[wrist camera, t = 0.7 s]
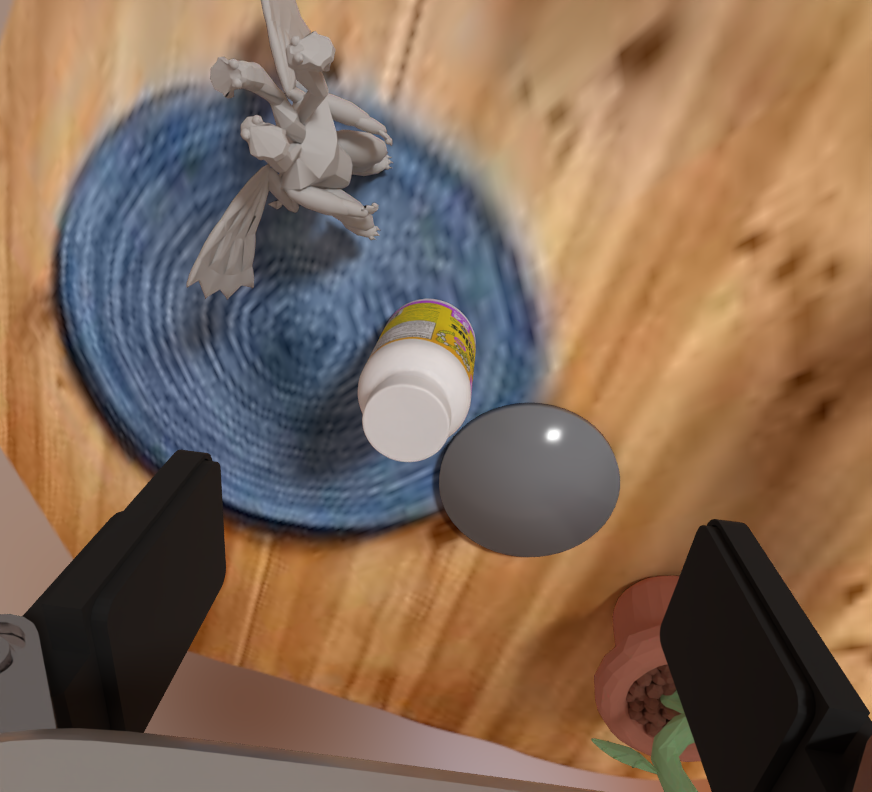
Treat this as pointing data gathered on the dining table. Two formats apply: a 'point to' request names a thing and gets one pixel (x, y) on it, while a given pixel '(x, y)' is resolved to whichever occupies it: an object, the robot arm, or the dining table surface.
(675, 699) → the decorative flower
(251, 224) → the fairy figurine
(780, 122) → the dining table surface
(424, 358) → the supplement bottle
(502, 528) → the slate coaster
